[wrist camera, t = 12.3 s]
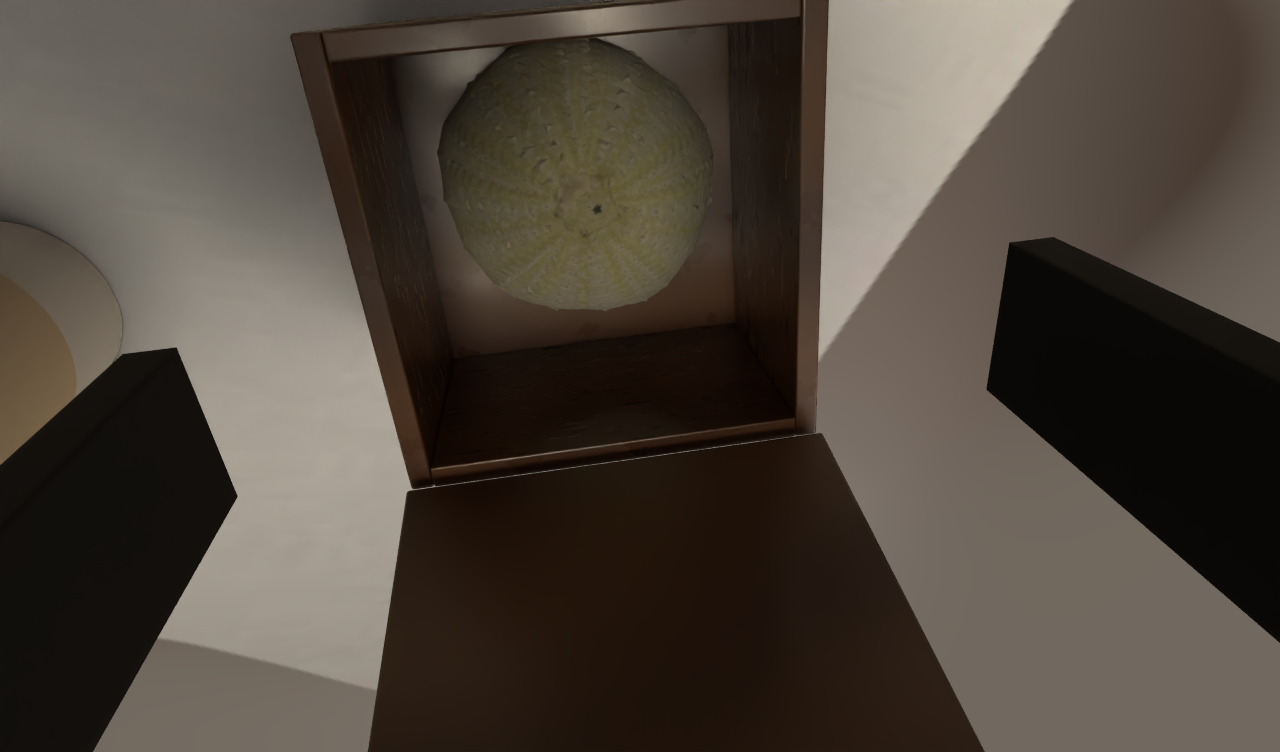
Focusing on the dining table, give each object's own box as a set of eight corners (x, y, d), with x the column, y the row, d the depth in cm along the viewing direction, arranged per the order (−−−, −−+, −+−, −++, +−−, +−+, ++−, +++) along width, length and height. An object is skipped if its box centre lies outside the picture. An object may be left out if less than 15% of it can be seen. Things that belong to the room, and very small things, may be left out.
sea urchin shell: (582, -60, 22) (729, 130, 20) (662, 79, 30) (776, 229, 27) (358, 136, 24) (467, 333, 21) (486, 221, 31) (578, 375, 29)
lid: (310, 1120, 12) (326, 1129, 12) (1093, 961, 13) (1080, 976, 13) (406, 490, 22) (413, 508, 23) (822, 431, 23) (820, 450, 24)
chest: (363, 23, 25) (288, 33, 17) (741, -12, 26) (830, -17, 18) (441, 368, 31) (411, 490, 23) (747, 329, 32) (816, 433, 24)
